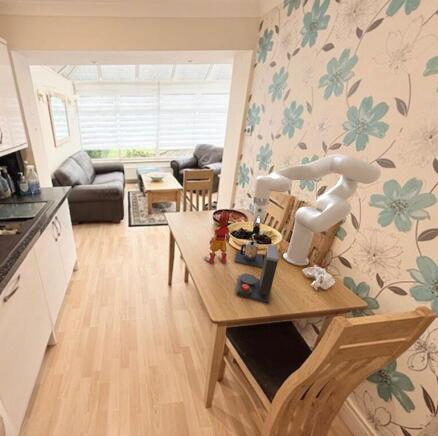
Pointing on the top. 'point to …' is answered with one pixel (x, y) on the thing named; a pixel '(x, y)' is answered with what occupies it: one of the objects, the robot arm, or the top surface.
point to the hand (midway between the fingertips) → (256, 230)
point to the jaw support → (319, 277)
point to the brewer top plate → (256, 263)
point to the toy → (220, 238)
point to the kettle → (249, 250)
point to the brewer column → (265, 271)
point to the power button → (245, 287)
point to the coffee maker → (252, 292)
